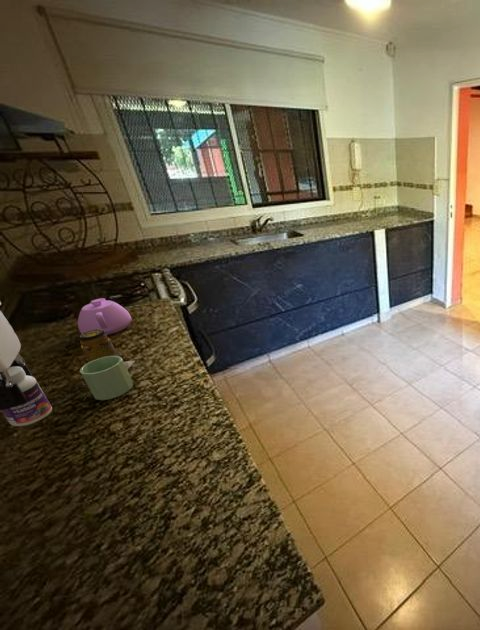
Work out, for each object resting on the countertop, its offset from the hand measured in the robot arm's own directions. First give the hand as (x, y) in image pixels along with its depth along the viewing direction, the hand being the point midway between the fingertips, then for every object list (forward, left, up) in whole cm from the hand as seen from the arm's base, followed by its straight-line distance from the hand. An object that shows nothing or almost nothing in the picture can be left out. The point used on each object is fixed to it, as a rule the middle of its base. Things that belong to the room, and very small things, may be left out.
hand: (19, 395), depth 60 cm
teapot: (+2, +69, -18) cm, 71 cm away
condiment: (+5, +36, -18) cm, 40 cm away
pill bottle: (0, 0, -5) cm, 5 cm away
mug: (+6, +24, -18) cm, 31 cm away
